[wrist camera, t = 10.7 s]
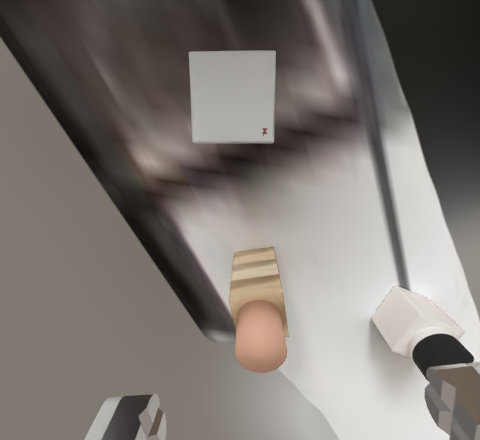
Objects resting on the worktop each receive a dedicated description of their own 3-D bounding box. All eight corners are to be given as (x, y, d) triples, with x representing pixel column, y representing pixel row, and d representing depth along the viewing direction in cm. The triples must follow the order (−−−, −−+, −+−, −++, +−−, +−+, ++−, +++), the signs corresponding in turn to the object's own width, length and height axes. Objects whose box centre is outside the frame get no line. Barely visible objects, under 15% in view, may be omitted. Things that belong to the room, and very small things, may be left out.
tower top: (231, 280, 34) (228, 299, 30) (278, 274, 33) (282, 293, 30) (239, 319, 36) (238, 342, 32) (284, 313, 35) (288, 336, 31)
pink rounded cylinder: (234, 302, 30) (231, 334, 25) (278, 297, 30) (284, 329, 25) (240, 337, 32) (239, 374, 27) (283, 333, 31) (289, 370, 27)
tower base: (234, 251, 41) (232, 264, 38) (273, 246, 41) (275, 258, 37) (240, 285, 43) (239, 300, 39) (277, 280, 43) (280, 295, 39)
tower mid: (232, 264, 38) (231, 279, 34) (275, 258, 37) (278, 273, 33) (239, 300, 39) (238, 318, 36) (280, 295, 39) (284, 313, 35)
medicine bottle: (369, 318, 44) (410, 384, 33) (394, 283, 42) (447, 342, 31) (406, 332, 45) (459, 401, 34) (432, 299, 43) (498, 361, 32)
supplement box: (268, 76, 33) (280, 48, 21) (266, 139, 36) (275, 146, 24) (208, 75, 33) (186, 48, 21) (210, 138, 36) (191, 145, 24)
